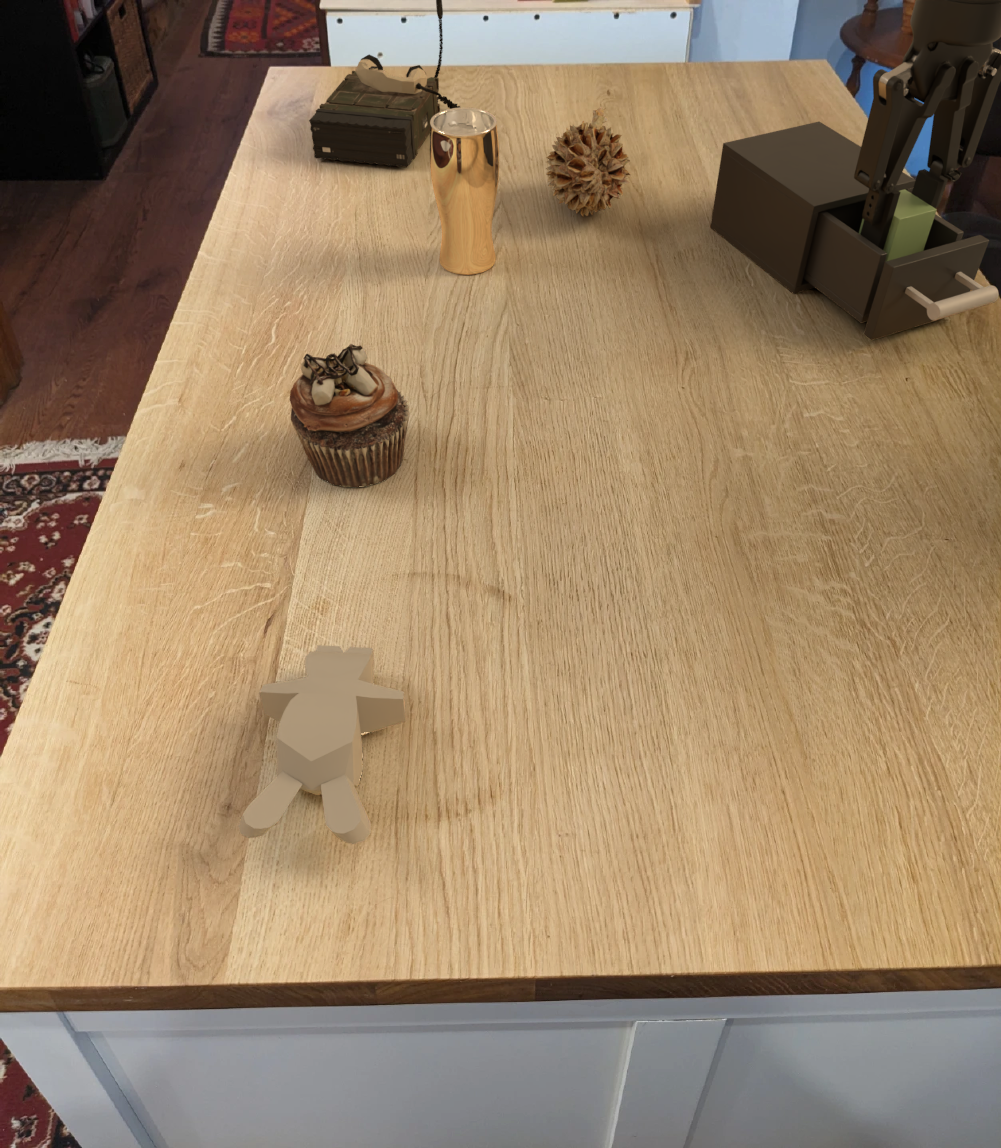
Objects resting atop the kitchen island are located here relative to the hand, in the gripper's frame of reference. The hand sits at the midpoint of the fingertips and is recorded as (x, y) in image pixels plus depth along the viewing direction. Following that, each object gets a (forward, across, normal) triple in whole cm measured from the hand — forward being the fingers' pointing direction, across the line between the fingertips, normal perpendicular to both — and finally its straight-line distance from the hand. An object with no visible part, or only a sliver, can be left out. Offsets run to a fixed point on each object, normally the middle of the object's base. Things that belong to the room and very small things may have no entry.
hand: (890, 245), depth 99 cm
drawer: (+6, 0, +1) cm, 6 cm away
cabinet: (+6, 0, -13) cm, 14 cm away
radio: (+7, +28, -60) cm, 66 cm away
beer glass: (+7, +34, -26) cm, 43 cm away
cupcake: (+7, +56, 0) cm, 56 cm away
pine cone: (+7, +15, -34) cm, 38 cm away
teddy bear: (+7, +68, +28) cm, 74 cm away
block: (0, 0, 0) cm, 0 cm away
